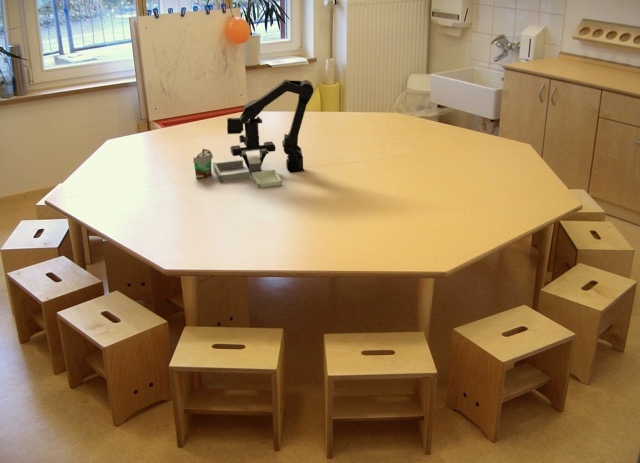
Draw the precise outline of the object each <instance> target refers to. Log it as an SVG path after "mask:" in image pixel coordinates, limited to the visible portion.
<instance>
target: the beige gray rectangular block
mask: <svg viewBox="0 0 640 463" xmlns="http://www.w3.org/2000/svg"><path fill="white" fill-rule="evenodd" d="M247 158H248V165H249V168H247V169H248V171H249V172H250V175H251V172H259V171H262V166H261V161H260V159H259V158H260V155H259V154H252V155H247Z"/></svg>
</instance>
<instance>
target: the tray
mask: <svg viewBox="0 0 640 463" xmlns="http://www.w3.org/2000/svg"><path fill="white" fill-rule="evenodd" d="M250 177H251V178H252V180H253V182H254V183H255V185H256V186H258V187H257V188H258V189H266V188H275V187H282V186H283V180H282V179H281V177H280V176H279V174H278V173H277V171H276V170H275V169H269V170H261V171H259V172H251V174H250Z"/></svg>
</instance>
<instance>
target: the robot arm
mask: <svg viewBox="0 0 640 463" xmlns="http://www.w3.org/2000/svg"><path fill="white" fill-rule="evenodd" d="M314 91H315V90H314V86H313V83H312V82H311V81H310V80H307V79H304V80H289V79H283V80H282V82H280V83H279V84H278V85H276V86H275V87H273V88H272V89H270V90H269V91H268V92H266V93H265V94H263V95H261V96H260V97H259V98H257V99H253V100H251V101H249V102H247V103H245V104H244V107H243V111H242V113H241V114H240V117H227V119H226V120H227V122H226V128H227V129H226V130H227V135H239V134H241V135H239V136H238V138H239V143H240V144H243V145H244V147H243V146H242V147H241V146H240V144H238V145H231V146H230V154H231V155H232V156H233V157H240V158H243V159H242V160H243V162H244V163H245V165H246V169H248V168H249V165H248V158H247V156H248V154H247V153H246V152H254V151H258V152H259V159H260V161H261V167H262V165H263V163H264V159H265V158H266V156H267V155H269V153H271V152H275V151H276V145H275V144H274V143H273V141H265V142H263V144H261V145H260V135H259V134H260V132H259V124H263V119H262V118H260V116H259V114H260V113H261V112H262V111H263V110H264V109H265V108H266V107H268V105H270V104H271V103H272V102H274V101H275V100H277V99H278V98H280V96H283V95H284V94H285V93H287V92H288V93H292V94H297V95H298V97H297V98H298V99H297V102H296V103H297V104H296V106H295V107H296V108H295V110H294V114H293V118H292V122H291V126H290V129H289V132H288V133H284V135H283V136H284V137H283V139H282V142H281V143H282V148H283V152H284V154H285V155H287V156H286V160H285V163H286V164H285V166H286V169H287V171H288V172H289V173H297V172H298V173H299V172H305V169H304V156H303V154H302V153H303V152H302V148H301V147H300V146H299V145H298V143H299V142H298V141H299V133H300V129H301V126H302V123H303V119H304V116H305V112H306V109H307V105H308V104H309V102H310V100H311V98H312V96H313V95H314ZM242 132H244V134H242Z"/></svg>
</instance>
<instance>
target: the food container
mask: <svg viewBox="0 0 640 463" xmlns="http://www.w3.org/2000/svg"><path fill="white" fill-rule="evenodd" d="M213 155H214V154H213V153H212V151H211V150H209V149H208V148H207V149H206V148H202V150H201V152H200V153H198V154H197V156H196V157H193V158H192V160H193V166H194V171H195V179H196V180H203V178H204V179H208V178H210V177H211V176H212V159H213V158H214V156H213ZM207 177H208V178H207Z"/></svg>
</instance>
